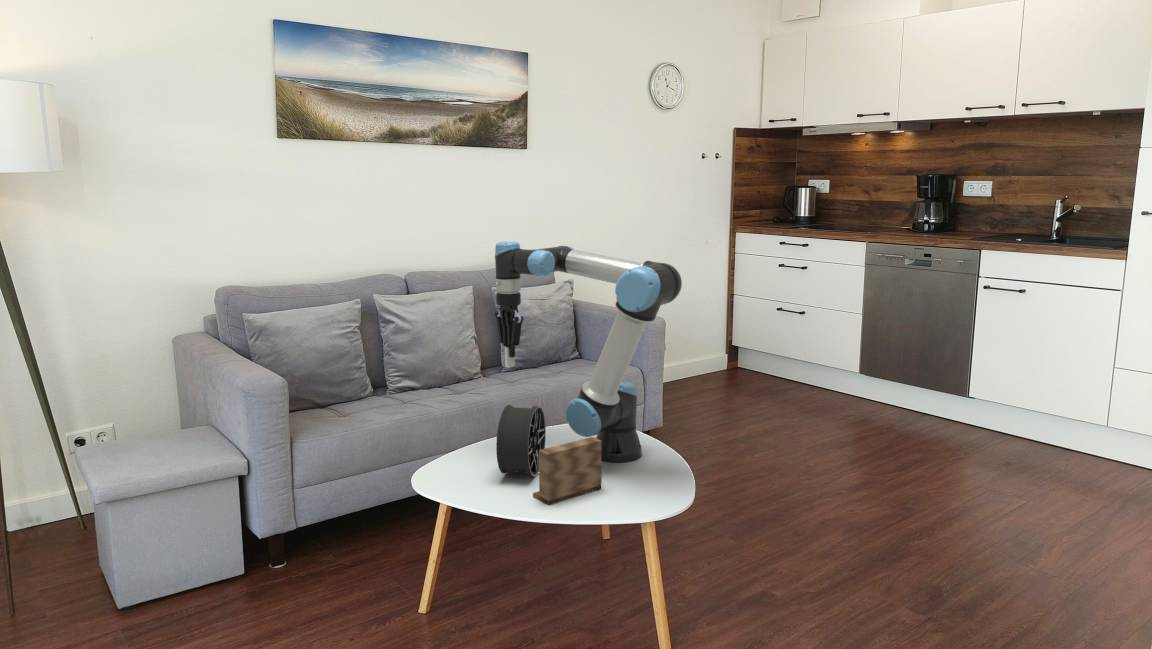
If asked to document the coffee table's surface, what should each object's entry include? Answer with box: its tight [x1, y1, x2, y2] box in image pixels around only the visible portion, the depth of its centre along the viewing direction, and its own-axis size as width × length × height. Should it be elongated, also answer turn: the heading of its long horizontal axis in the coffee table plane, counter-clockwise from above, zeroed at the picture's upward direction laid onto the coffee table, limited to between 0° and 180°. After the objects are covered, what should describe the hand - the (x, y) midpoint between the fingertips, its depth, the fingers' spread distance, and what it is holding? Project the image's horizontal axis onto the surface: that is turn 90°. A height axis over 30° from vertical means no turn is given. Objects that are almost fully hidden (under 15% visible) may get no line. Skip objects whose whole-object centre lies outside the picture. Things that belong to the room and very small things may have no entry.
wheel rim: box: [495, 404, 547, 477], centre depth 237 cm, size 20×9×20 cm, turn 168°
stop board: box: [532, 436, 602, 506], centre depth 222 cm, size 18×7×14 cm, turn 128°
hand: (510, 366), depth 256 cm, fingers closed
